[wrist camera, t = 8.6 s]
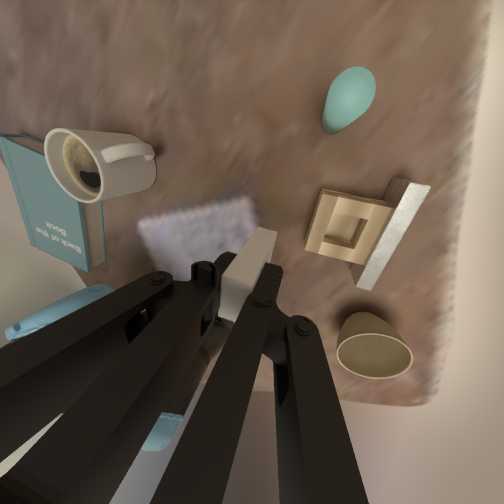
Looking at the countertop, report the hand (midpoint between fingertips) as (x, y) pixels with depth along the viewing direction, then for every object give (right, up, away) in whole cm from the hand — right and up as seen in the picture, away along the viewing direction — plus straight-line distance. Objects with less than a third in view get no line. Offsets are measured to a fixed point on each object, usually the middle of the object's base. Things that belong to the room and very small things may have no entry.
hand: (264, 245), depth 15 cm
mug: (-20, +14, +19) cm, 31 cm away
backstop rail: (+17, +3, +13) cm, 21 cm away
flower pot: (+19, -13, +21) cm, 31 cm away
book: (-40, +9, +28) cm, 49 cm away
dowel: (+9, +16, +9) cm, 20 cm away
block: (+12, +4, +14) cm, 19 cm away
